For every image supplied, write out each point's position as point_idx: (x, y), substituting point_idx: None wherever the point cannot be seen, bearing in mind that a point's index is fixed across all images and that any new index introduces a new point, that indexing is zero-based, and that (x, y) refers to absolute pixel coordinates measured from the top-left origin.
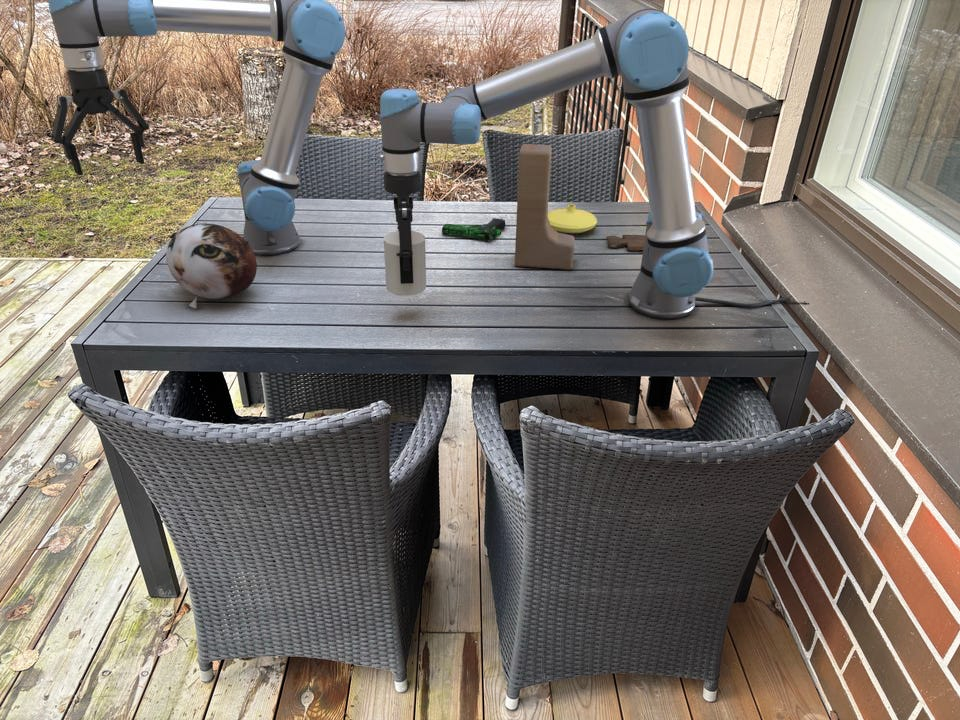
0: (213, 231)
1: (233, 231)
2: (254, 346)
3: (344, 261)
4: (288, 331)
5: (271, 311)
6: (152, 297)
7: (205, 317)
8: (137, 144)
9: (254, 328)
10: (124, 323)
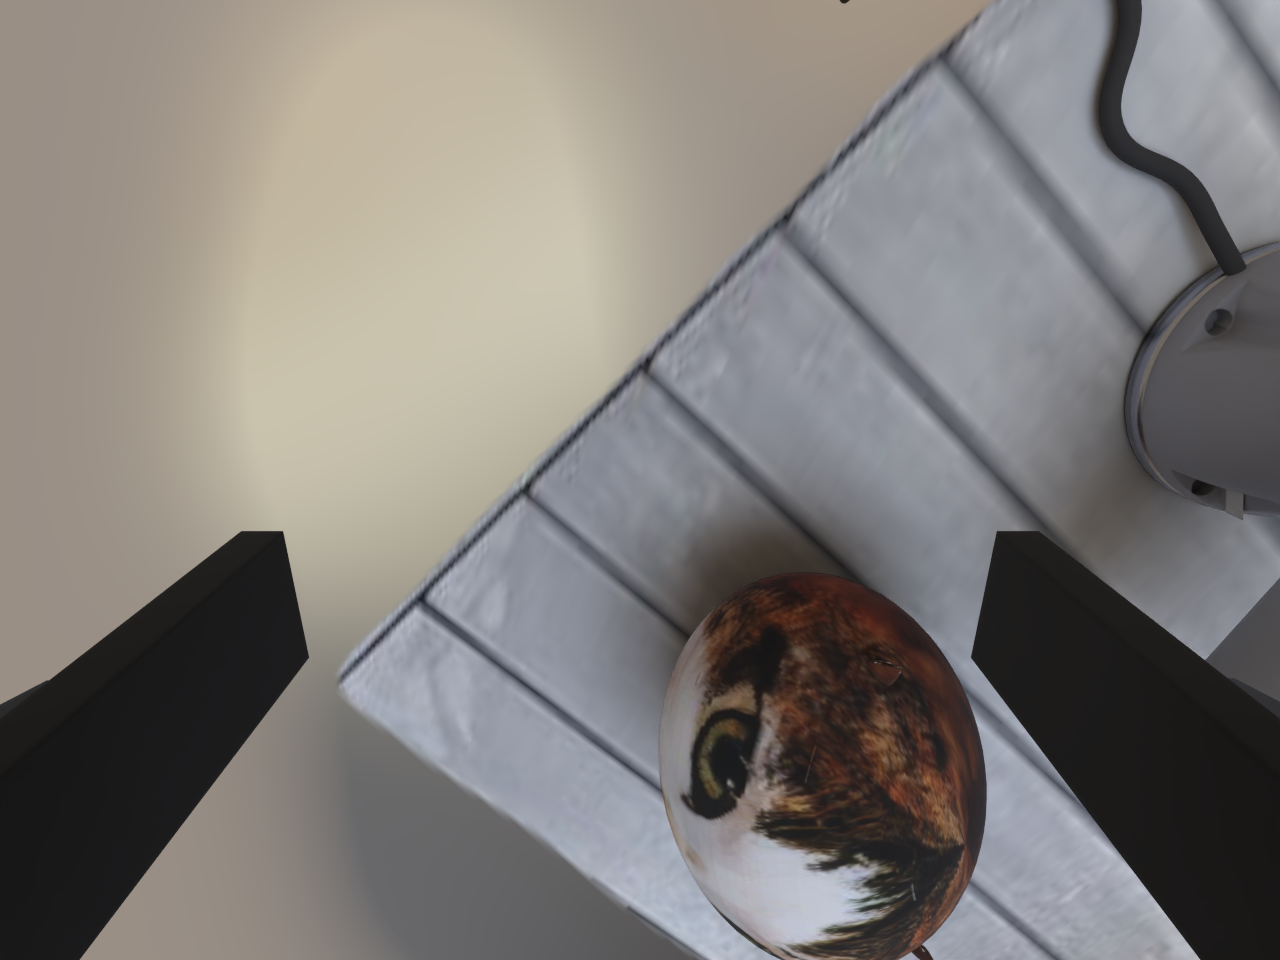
0: (853, 955)
1: (952, 906)
2: (686, 941)
3: None
4: None
5: None
6: (613, 534)
7: None
8: (1131, 860)
9: None
10: (468, 650)
